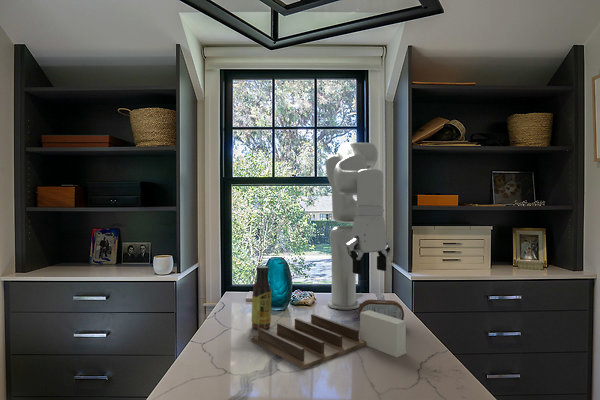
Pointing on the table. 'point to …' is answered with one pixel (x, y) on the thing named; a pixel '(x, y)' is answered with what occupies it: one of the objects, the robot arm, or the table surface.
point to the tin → (383, 308)
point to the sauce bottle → (261, 300)
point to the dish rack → (310, 341)
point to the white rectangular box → (383, 332)
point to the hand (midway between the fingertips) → (369, 271)
